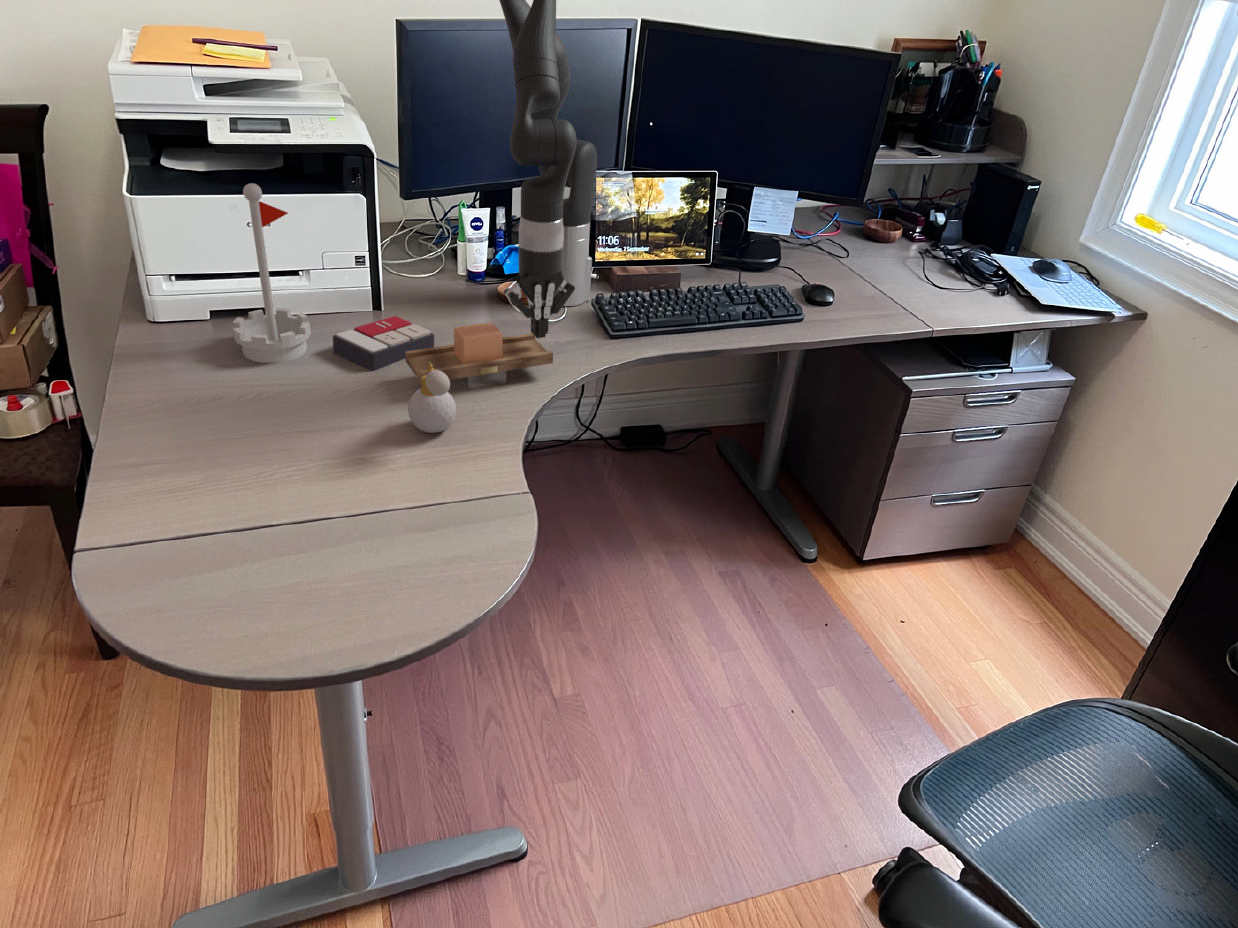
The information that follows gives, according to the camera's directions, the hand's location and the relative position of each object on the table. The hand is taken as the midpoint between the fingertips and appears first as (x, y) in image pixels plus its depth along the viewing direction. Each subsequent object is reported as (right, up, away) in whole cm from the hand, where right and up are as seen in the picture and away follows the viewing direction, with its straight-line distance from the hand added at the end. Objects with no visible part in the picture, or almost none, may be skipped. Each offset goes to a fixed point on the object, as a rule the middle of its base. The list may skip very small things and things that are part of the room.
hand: (539, 336), depth 162 cm
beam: (-10, -8, -1) cm, 13 cm away
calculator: (-29, -2, +6) cm, 30 cm away
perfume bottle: (-15, -18, -18) cm, 29 cm away
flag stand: (-48, -2, +2) cm, 49 cm away
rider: (-10, -4, -4) cm, 12 cm away
